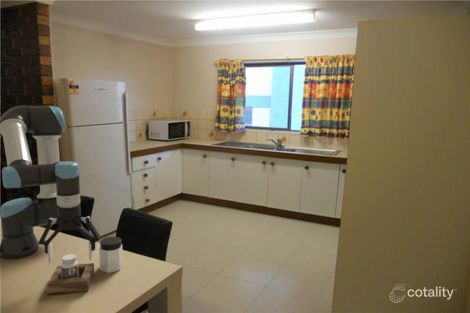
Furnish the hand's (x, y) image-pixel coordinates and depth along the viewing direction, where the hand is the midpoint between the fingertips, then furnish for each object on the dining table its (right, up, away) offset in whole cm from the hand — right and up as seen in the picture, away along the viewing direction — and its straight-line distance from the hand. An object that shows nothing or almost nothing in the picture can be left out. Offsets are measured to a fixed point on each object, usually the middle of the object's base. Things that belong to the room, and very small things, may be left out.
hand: (71, 259), depth 120 cm
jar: (+10, -8, +14) cm, 19 cm away
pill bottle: (-1, -9, +1) cm, 9 cm away
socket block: (0, -9, +1) cm, 10 cm away
